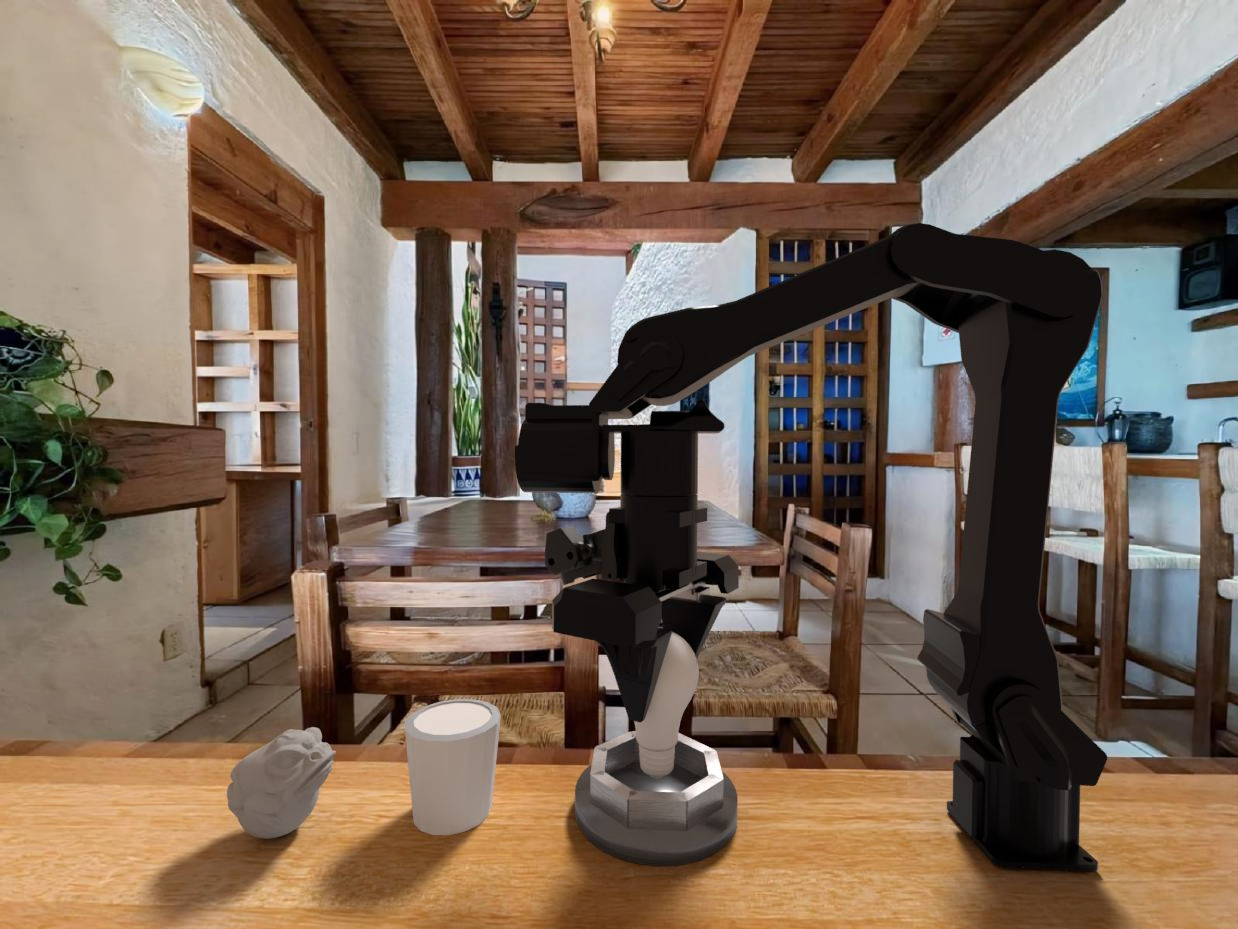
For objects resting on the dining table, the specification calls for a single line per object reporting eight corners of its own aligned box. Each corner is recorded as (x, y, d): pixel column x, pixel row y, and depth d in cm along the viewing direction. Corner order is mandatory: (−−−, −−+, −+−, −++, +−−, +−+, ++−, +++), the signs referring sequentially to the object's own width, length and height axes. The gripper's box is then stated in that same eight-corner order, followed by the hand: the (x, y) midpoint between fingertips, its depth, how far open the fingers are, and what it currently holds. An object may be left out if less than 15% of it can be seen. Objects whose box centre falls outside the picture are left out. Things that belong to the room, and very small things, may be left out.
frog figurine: (301, 866, 37) (301, 758, 36) (200, 858, 37) (200, 751, 37) (354, 808, 43) (354, 715, 42) (266, 802, 43) (266, 710, 43)
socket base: (724, 768, 49) (725, 727, 49) (751, 869, 37) (752, 815, 37) (583, 763, 49) (583, 723, 49) (564, 862, 37) (565, 808, 37)
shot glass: (475, 848, 38) (475, 744, 38) (383, 834, 40) (383, 733, 40) (514, 790, 45) (514, 701, 45) (434, 779, 47) (434, 693, 46)
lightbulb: (600, 784, 42) (600, 634, 42) (640, 748, 47) (641, 614, 47) (676, 811, 39) (677, 649, 38) (710, 769, 44) (711, 626, 44)
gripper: (629, 486, 55) (628, 649, 55) (489, 497, 39) (488, 726, 39) (741, 490, 49) (740, 672, 49) (631, 505, 33) (630, 774, 33)
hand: (657, 703), depth 43 cm, fingers closed on lightbulb, 6 cm apart
